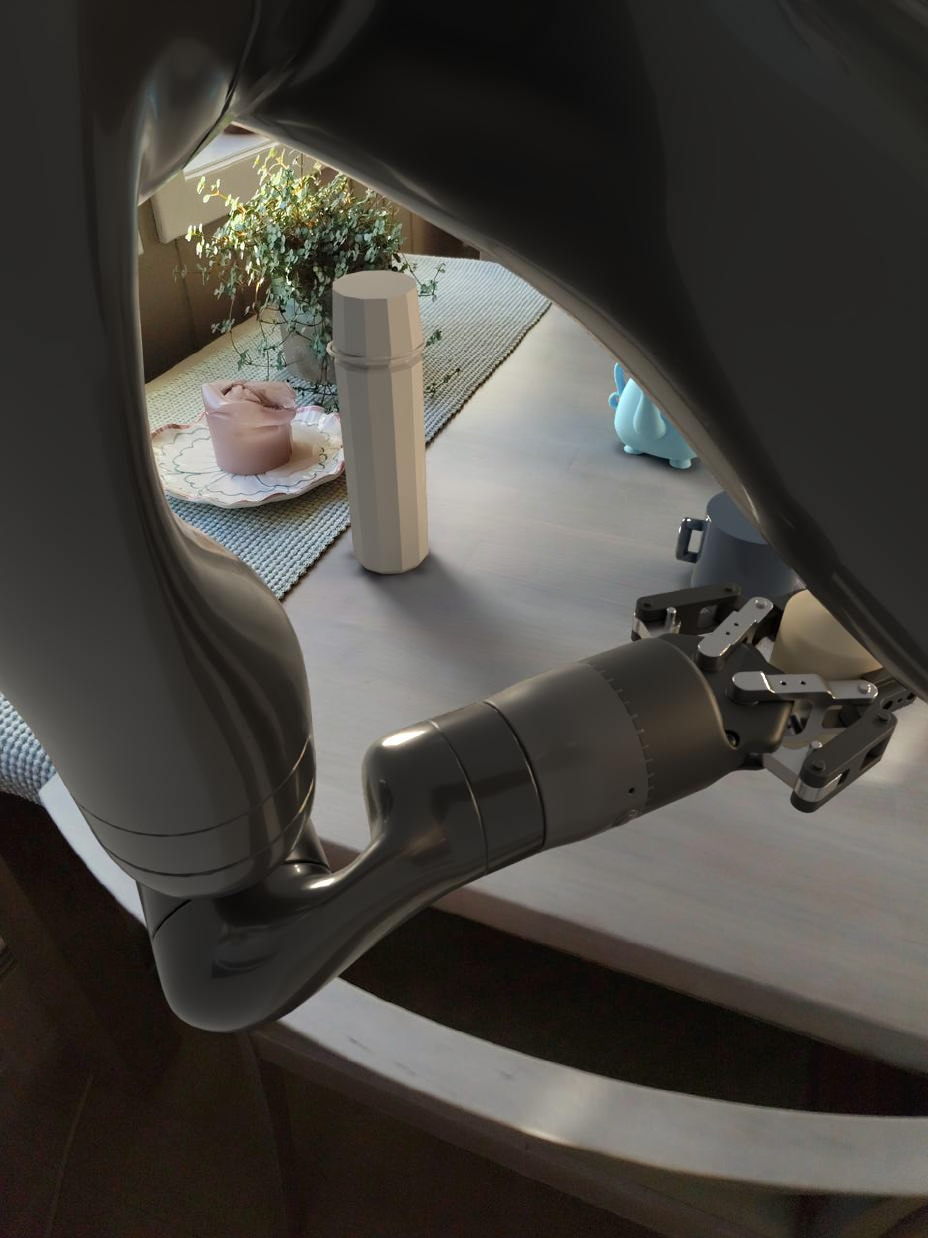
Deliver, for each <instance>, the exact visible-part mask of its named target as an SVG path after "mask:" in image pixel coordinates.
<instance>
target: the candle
mask: <svg viewBox="0 0 928 1238" xmlns="http://www.w3.org/2000/svg"><path fill="white" fill-rule="evenodd" d="M806 589H807V588H806ZM773 643H774V644H773V647H772V650H771V653H770V657H769V660H768V663H770V664H771V665H773V666H775V667H776V668H778V669H780V670H782V671H783V672H784V673H785V674H814V673H816V674H820V675H821V676H822V677H823V679H824V680H826V681H835V680H860V679H861V676H862V675H864V674H866V673H869V672H871V671H874V670H877V669H880V668H882V667H883V666H882V665H881V664H880V663H879V662H878V661H877V660H876V659H875V658H874V657H873V656H872V655H871V654H870V653H869V652H868V651H867V650H866V649H865V648H864V647H863V646H862V645H861V644H860V643H859V642H858V641H857V640H856V639H855V638H854V637H853V636H852V635H851V634H850V633H849V632H848V631H847V630H846V629H845V628H844V627H842V626H841V625H840V624H839V623H838V622H837V621H836V619H835V618H834V617H833V616H832V615H831V614H830V613H829V612H828V611H827V610H826V609H825V608H824V607H823V606H822V605H821V604H820V603H819V601H818V600H817V599H816V598H815V597H814V596H813V595H812V594H811V593H810V592H809V591H808V589H807V590H804V591H801V592H799V593H797V594H796V595H794V596H793V597H792V598H791V599H790V600H789V601H788V603H787V604H786V607H785V610H784V614H783V617H782V620H781V624H780V627H779V630H778V633H777V637H776V640H775V642H773ZM799 701H800V700H795V704H794V707H793V710H792V713H791V715H793V714H794V713H795V712H796V710H797V707H798V704H799ZM841 708H842V705H838V706H831V707H829V708H828V709H827V710H831V709H841ZM837 735H838V734H826V735H820V736H818V737H817V738H816V739H814V740H813V741H818V742H820V743H821V744H822V746H823V745H824V744H826V743H827V742H828V741H830V740H831V739H832V738H834V737H835V736H837ZM811 742H812V741H810V742H799V743H781V745H783V746H785V747H787V748H791V749H798V748H801V747H803V746H810V743H811Z"/></svg>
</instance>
